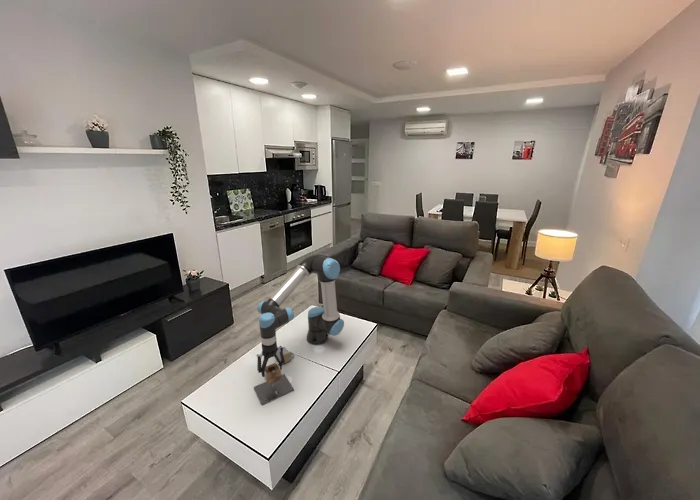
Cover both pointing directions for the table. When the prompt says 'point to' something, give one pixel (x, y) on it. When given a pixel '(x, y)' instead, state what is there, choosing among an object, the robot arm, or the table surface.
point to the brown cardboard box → (272, 373)
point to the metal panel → (273, 390)
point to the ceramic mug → (285, 355)
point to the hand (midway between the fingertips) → (272, 377)
